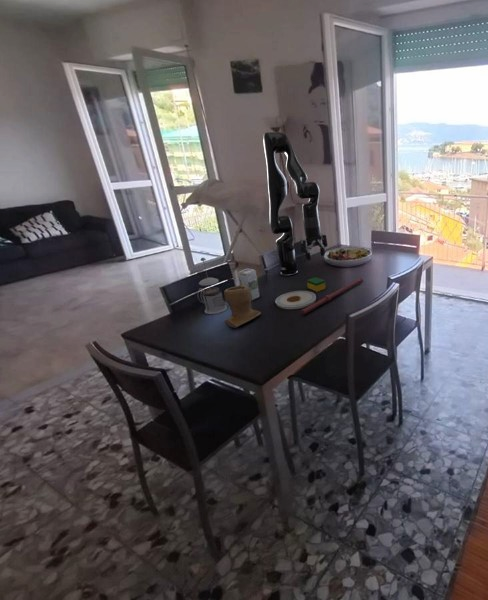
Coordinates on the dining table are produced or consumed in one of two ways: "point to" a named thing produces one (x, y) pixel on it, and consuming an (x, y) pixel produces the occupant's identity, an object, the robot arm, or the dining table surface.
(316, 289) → the sponge
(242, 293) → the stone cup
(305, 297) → the plate
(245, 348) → the dining table surface
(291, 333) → the dining table surface
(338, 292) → the rolling pin
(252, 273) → the white canister
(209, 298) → the french press
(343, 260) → the bowl
